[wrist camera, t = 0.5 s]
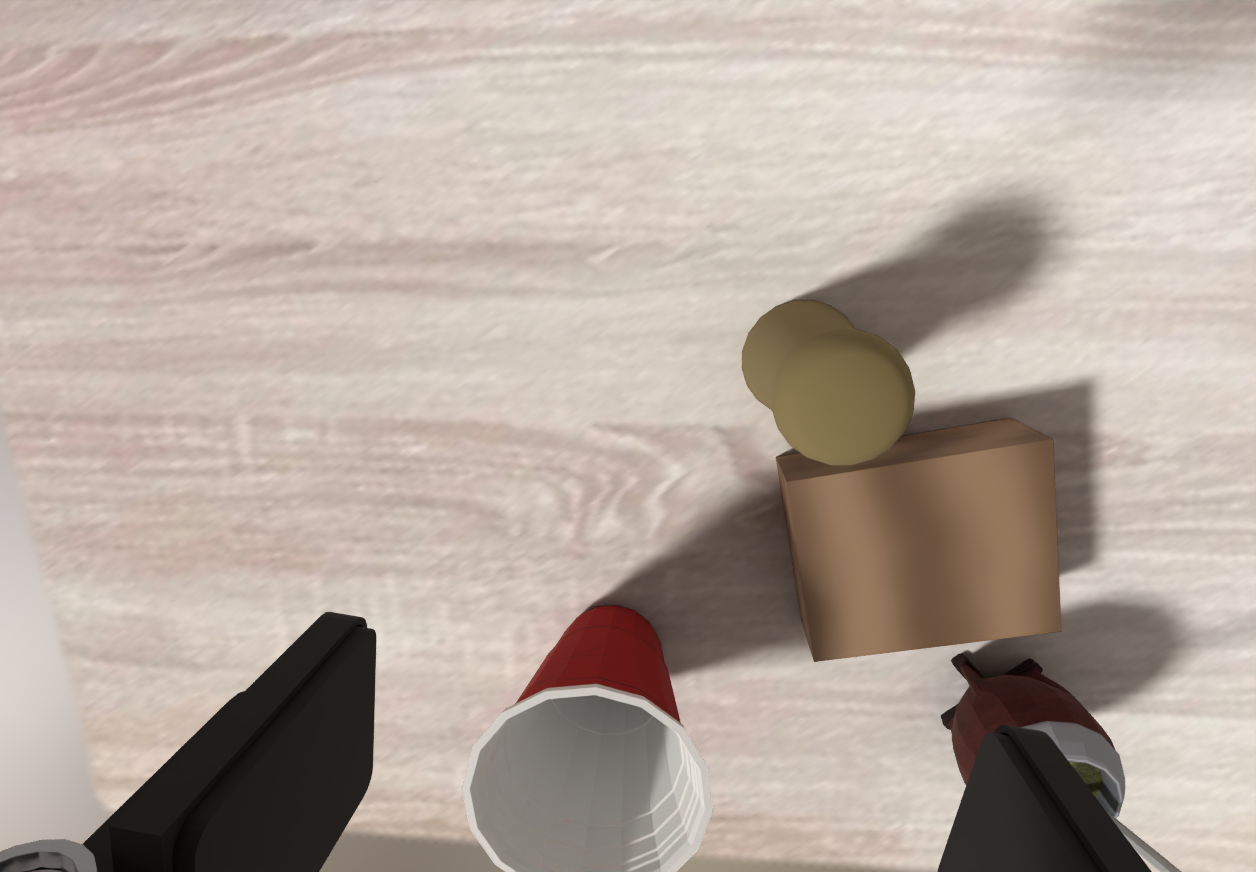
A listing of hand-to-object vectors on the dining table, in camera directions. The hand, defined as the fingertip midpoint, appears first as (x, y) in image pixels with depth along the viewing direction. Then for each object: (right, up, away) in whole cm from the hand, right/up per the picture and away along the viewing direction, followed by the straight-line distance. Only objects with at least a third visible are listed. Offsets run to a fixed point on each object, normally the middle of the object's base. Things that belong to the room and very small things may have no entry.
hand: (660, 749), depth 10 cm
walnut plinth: (+14, 0, +26) cm, 29 cm away
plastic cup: (-1, -8, +29) cm, 30 cm away
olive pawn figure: (+8, +9, +24) cm, 27 cm away
